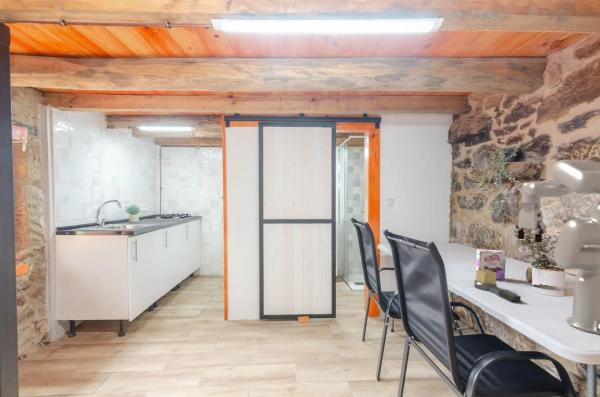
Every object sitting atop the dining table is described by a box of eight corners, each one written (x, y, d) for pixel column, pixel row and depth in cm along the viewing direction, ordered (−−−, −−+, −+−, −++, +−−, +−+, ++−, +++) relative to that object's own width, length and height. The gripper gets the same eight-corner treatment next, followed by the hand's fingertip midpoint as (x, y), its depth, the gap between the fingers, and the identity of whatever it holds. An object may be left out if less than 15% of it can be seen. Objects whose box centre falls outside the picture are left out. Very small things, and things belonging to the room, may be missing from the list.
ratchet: (525, 302, 139) (526, 287, 139) (506, 302, 138) (506, 287, 138) (487, 284, 164) (487, 272, 164) (470, 284, 163) (470, 272, 163)
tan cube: (495, 284, 156) (496, 272, 155) (484, 284, 155) (484, 272, 155) (486, 280, 162) (487, 269, 162) (475, 280, 161) (476, 269, 161)
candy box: (478, 278, 176) (479, 250, 175) (475, 275, 182) (476, 248, 181) (504, 280, 173) (506, 252, 172) (500, 277, 178) (502, 250, 178)
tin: (525, 279, 175) (525, 265, 174) (531, 280, 174) (532, 266, 173) (535, 287, 160) (536, 272, 160) (542, 288, 159) (543, 273, 159)
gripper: (553, 207, 143) (552, 243, 143) (522, 206, 160) (521, 237, 161) (539, 207, 142) (538, 243, 142) (509, 205, 159) (508, 237, 160)
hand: (529, 240), depth 152 cm, fingers open, 9 cm apart
